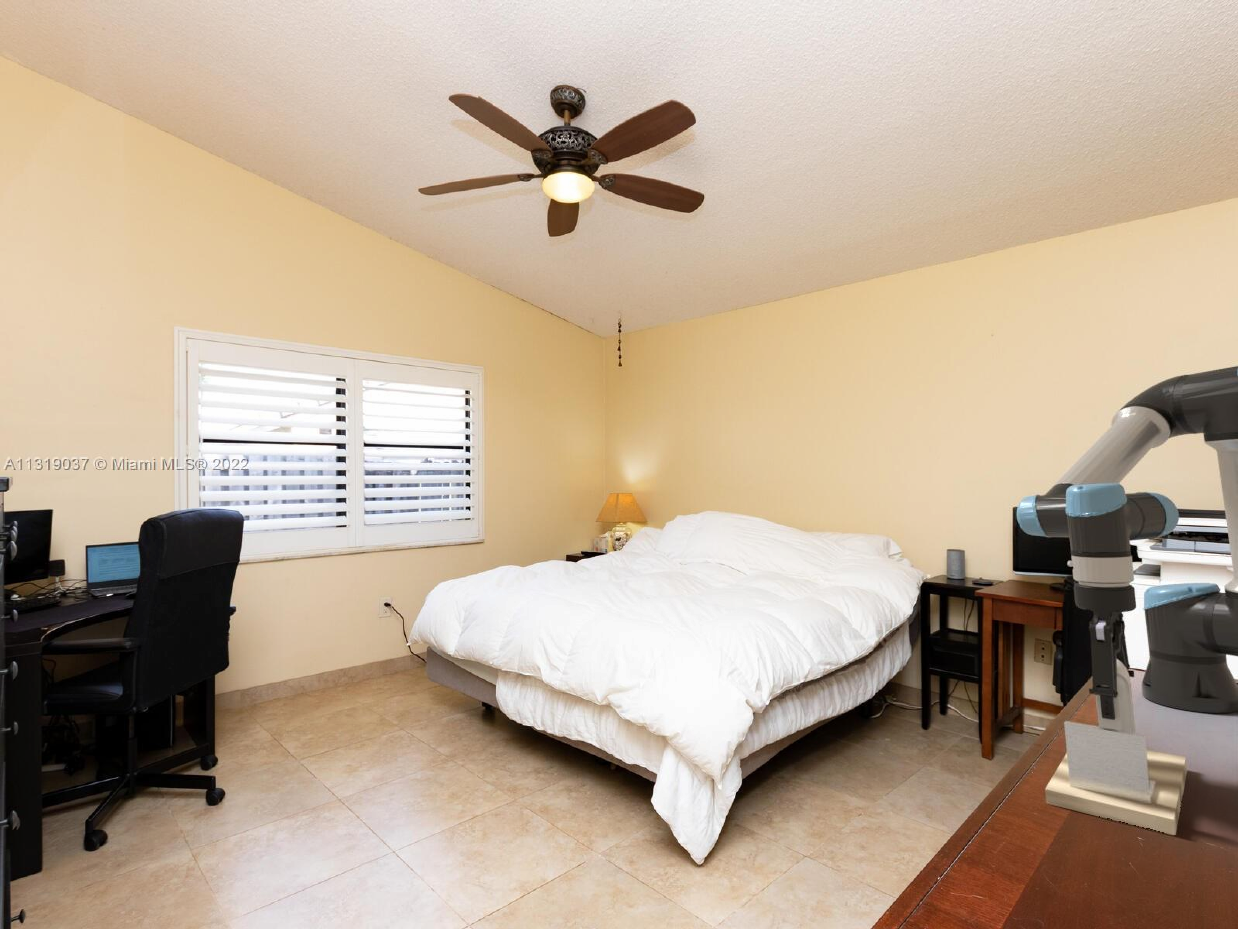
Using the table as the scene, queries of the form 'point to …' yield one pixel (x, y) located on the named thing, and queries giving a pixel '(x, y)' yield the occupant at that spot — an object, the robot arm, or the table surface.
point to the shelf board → (1155, 816)
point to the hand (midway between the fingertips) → (1116, 728)
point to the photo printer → (1125, 697)
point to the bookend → (1108, 762)
